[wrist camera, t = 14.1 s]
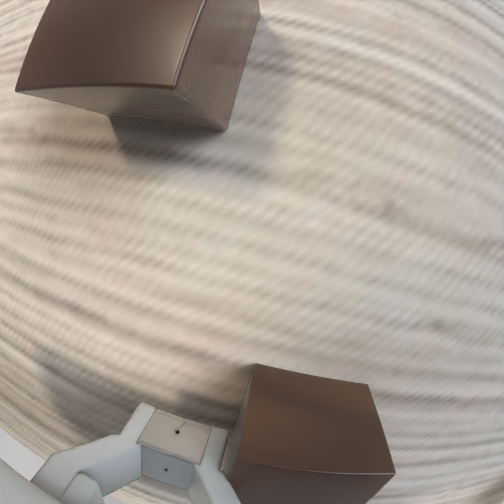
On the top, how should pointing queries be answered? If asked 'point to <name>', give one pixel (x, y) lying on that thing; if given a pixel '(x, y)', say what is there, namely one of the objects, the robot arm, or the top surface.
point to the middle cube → (306, 441)
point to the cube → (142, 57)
